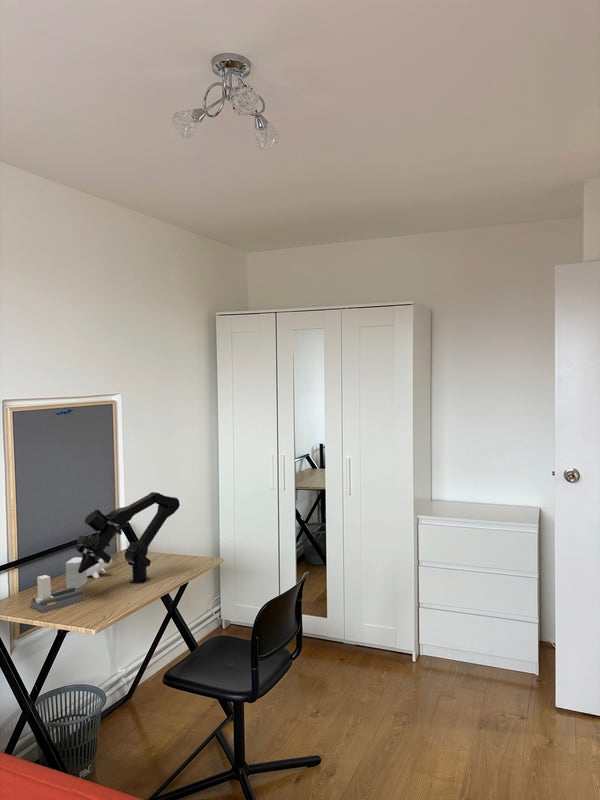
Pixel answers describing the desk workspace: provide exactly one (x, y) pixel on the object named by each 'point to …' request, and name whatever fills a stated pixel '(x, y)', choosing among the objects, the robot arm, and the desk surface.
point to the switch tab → (43, 588)
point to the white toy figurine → (97, 569)
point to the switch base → (59, 599)
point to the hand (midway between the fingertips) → (79, 572)
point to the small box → (75, 574)
